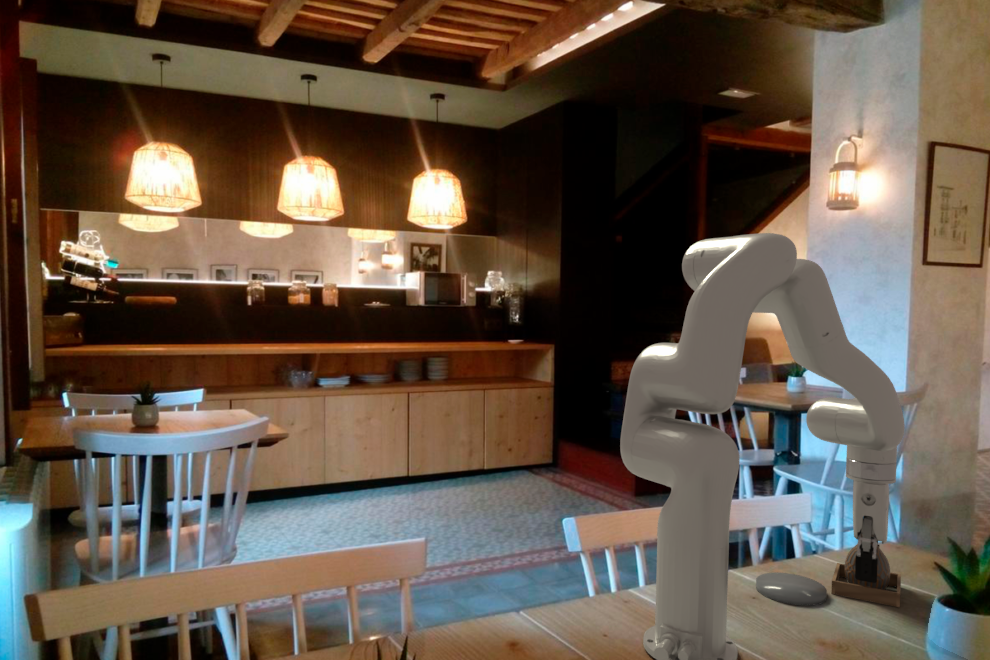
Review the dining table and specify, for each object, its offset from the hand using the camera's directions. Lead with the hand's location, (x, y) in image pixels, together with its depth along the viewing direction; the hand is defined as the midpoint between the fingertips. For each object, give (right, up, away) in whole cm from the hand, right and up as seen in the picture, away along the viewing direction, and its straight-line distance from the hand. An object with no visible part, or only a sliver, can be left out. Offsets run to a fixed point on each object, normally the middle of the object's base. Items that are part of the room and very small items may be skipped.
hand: (867, 572), depth 120 cm
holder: (0, -3, 0) cm, 3 cm away
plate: (-14, -3, -1) cm, 14 cm away
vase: (0, -3, 0) cm, 3 cm away
